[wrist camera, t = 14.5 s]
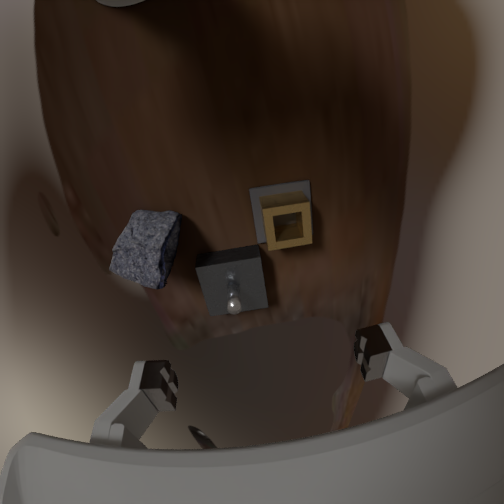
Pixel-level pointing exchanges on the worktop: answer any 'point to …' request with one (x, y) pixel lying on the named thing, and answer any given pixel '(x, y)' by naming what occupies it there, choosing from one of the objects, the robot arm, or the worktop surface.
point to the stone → (147, 248)
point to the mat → (272, 190)
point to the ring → (290, 232)
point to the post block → (232, 280)
